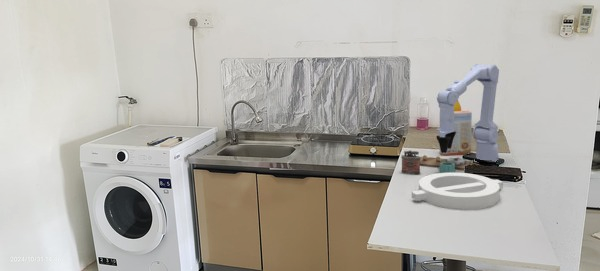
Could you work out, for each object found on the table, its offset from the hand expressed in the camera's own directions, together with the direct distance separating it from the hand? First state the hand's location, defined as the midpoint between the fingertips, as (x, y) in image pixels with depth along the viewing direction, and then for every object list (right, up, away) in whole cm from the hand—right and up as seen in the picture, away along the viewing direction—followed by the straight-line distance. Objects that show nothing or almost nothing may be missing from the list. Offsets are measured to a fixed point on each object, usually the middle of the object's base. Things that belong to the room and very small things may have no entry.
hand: (446, 150), depth 197 cm
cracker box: (+14, -3, +29) cm, 32 cm away
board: (+2, -7, +13) cm, 15 cm away
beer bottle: (+20, +3, +53) cm, 57 cm away
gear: (+1, -10, +1) cm, 10 cm away
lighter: (-14, -10, +3) cm, 18 cm away
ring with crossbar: (-4, -16, -26) cm, 31 cm away
